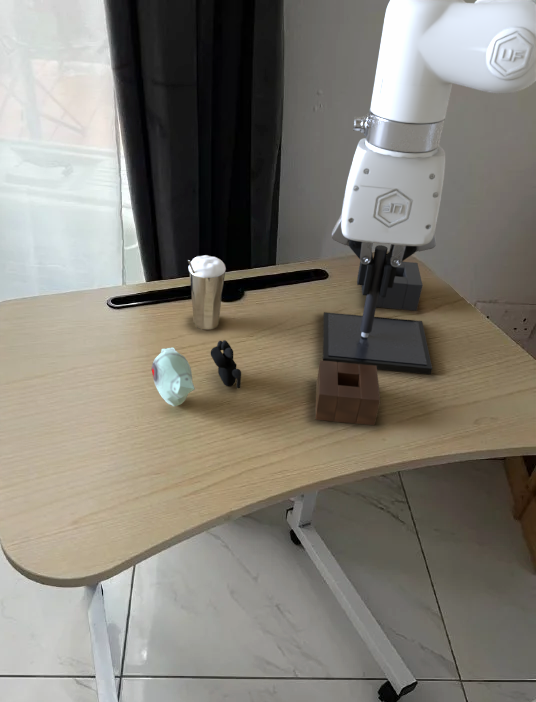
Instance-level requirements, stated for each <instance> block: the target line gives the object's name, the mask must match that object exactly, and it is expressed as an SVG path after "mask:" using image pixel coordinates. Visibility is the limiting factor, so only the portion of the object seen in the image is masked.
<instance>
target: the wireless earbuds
mask: <svg viewBox="0 0 536 702" xmlns="http://www.w3.org/2000/svg"><path fill="white" fill-rule="evenodd" d="M210 357H211V359H212V360H213V362H214V364H215V365H216V367H217V373H218V376H219V379H221V381H222V383H223V385H224V386H226V387H232V386H234V385H235V384H236V389H237V390H240V389H241V385H242V370H241V369H239V368H237V367H238V366H237V365H238V364H237V362H236V361H235V360H234V350H233V348H232V347H231V345H230V343H229V342H228V341H227V340H225V339H224V340H218V342H217V344H216V346H213V347H212V348H211V350H210Z"/></svg>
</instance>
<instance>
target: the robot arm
mask: <svg viewBox="0 0 536 702" xmlns="http://www.w3.org/2000/svg"><path fill="white" fill-rule="evenodd" d="M376 64H377V65H376V71H375V76H374V83H373V89H372V96H371V102H370V108H369V109H368V112H367V113H366V114H365V115H362V116H354V119H353V124H352V125H353V126H352V127H353V128H352V131H354V132H359V133H360V134H363V136H364V137H363V138H361V139H360V140H359V141H358V143H357V146H356V149H355V152H354V154H353V158H352V163H351V165H350V169H349V172H348V177H347V181H346V186H345V190H344V195H343V201H342V205H341V206H342V207H341V208H342V209H341V213H340V216H339V217H338V220H336V223H335V225H334V227H333V228H332V230H331V238H332V240H333V241H335V242H338V243H339V244H342V245H343V246H347V247H349V249H350V250H351V251H352V252H353V253H354V254H355V255H356V257H357V258H358V259H359V266H358V272H357V273H358V274H357V279H356V282H357V283H356V284H357V286H361V294H362V296H365V297H366V296H367V295H369V291H370V286H371V280H372V275H373V270H374V262H373V258H374V253H373V248H374V247H373V246H374V244H380V245H390V246H389V250H388V252H387V255H386V260H385V263H384V269H383V274H382V279H381V284H380V289H379V296H381V297H386V293H387V288H392V287H393V283H394V278H395V274H396V269H397V267H398V266H400V265H401V262H405V260H406V259H408V258H410V257H411V256H412V255H414V254H415V253H416V252H417V253H419V252H424V251H428V250H433V249H434V248H435V247H436V246H437V241H436V234H435V232H436V227H437V223H438V219H439V213H440V208H441V207H440V206H441V200H442V193H443V188H444V181H445V180H444V179H445V171H446V151H445V150H444V148H443V147H442V146H441V145H440V141H441V137H442V133H443V129H444V124H445V120H446V116H447V110H448V107H449V102H450V99H451V98H450V97H451V94H452V88H453V85H458V86H461V87H466V88H469V89H473V90H477V91H480V92H485V93H489V94H496V95H507V94H513V93H517V92H520V91H522V90H525V89H527V88H529V87H530V86H532V85H533V84H534V83H536V0H475V1H474V2H466V1H465V0H389V2H388V4H387V7H386V9H385V15H384V20H383V25H382V33H381V38H380V45H379V52H378V57H377V63H376Z"/></svg>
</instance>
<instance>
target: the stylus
mask: <svg viewBox="0 0 536 702" xmlns="http://www.w3.org/2000/svg"><path fill="white" fill-rule="evenodd" d="M388 251H389V250H388V246H386V245H383V244H378V245H376V246H375V248H374V253H373V262H374V270H373V275H372V280H371V286H370V291H369V295H367V296H365V302H364V306H363V312H362V316H363V317H362V322H361V328H360V331H361V332H362V333H361V336H362V337H365V338H366V337H368V335H369V333H370V332H371V330H372V325H373V320H374V317H375V315H376V309H377V307H376V305H377V300H378V295H379V289H380V284H381V279H382V274H383V269H384V263H385V260H386V255H387V253H388Z"/></svg>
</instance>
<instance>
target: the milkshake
mask: <svg viewBox="0 0 536 702" xmlns="http://www.w3.org/2000/svg"><path fill="white" fill-rule="evenodd" d="M187 263H188V264H189V265H188V273H189V274H188V276H189V282H190V283H189V284H190V294H191V295H190V296H191V307H192V320H193V324H194V326H195V327H196V328H198V329H200V330H203V331H205V330H207V331H208V330H214V329H215V328H217V327H218V325H219V322H220V315H221V306H222V297H223V291H224V283H225V276H226V270H227V268H226V264H225V263H224V262H223V260H221V259H220V258H218V257H216V256H211V255H208V254H205V255H197V256H196V257H194V258H192V260H189V259H187Z"/></svg>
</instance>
